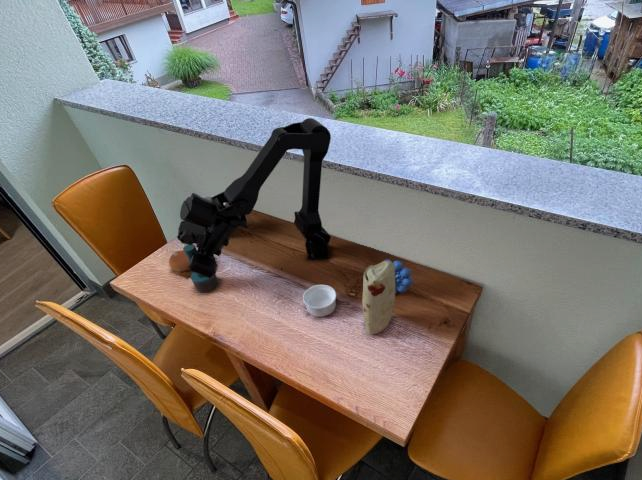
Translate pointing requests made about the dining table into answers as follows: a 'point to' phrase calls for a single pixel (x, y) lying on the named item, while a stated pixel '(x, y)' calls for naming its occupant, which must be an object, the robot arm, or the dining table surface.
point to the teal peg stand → (199, 280)
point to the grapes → (401, 277)
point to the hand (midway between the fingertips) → (193, 267)
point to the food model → (378, 296)
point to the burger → (180, 264)
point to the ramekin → (320, 300)
